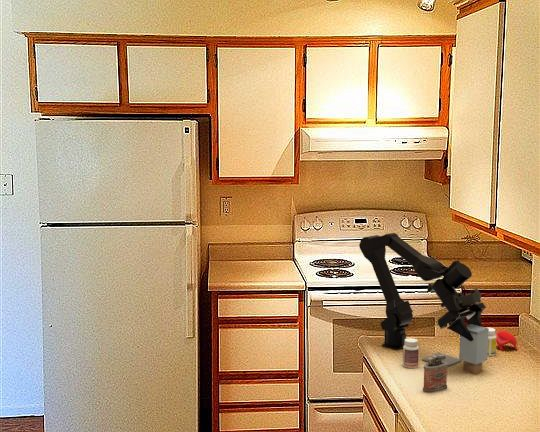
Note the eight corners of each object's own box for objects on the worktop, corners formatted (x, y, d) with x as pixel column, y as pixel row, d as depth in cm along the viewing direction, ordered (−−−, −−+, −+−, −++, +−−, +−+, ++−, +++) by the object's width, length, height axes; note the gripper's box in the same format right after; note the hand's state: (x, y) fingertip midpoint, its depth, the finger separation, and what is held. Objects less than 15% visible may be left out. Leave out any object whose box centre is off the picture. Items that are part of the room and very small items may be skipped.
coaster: (421, 360, 224) (421, 358, 224) (438, 353, 230) (438, 352, 230) (445, 368, 218) (445, 366, 218) (462, 361, 224) (462, 359, 224)
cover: (459, 359, 216) (460, 327, 214) (470, 354, 220) (471, 323, 218) (476, 364, 211) (477, 332, 210) (487, 359, 215) (488, 328, 214)
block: (463, 370, 216) (463, 357, 216) (470, 367, 219) (470, 354, 218) (474, 373, 213) (474, 361, 213) (481, 370, 216) (482, 358, 215)
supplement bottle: (494, 351, 232) (495, 327, 231) (497, 356, 228) (498, 331, 226) (479, 351, 233) (480, 326, 232) (482, 356, 228) (483, 331, 227)
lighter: (427, 393, 198) (429, 360, 197) (420, 389, 201) (421, 356, 199) (449, 388, 202) (451, 355, 200) (441, 384, 205) (443, 351, 203)
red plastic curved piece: (493, 342, 232) (510, 334, 230) (491, 331, 238) (507, 323, 235) (505, 358, 235) (522, 351, 233) (502, 347, 240) (518, 340, 238)
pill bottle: (421, 367, 218) (421, 341, 217) (407, 369, 217) (408, 343, 216) (413, 362, 223) (413, 336, 222) (399, 364, 221) (400, 338, 220)
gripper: (447, 286, 209) (478, 331, 202) (482, 276, 221) (512, 318, 214) (424, 306, 216) (453, 350, 209) (459, 296, 228) (488, 337, 221)
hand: (478, 338), depth 213 cm, fingers closed on cover, 6 cm apart
